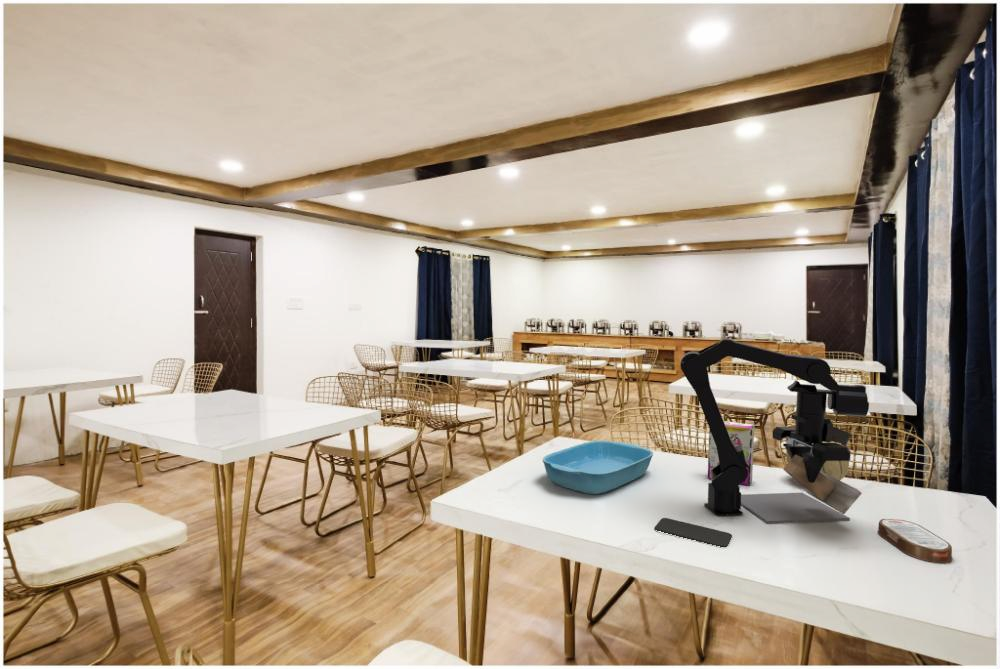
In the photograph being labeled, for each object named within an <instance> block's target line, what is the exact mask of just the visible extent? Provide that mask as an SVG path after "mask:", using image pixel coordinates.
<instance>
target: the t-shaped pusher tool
mask: <svg viewBox="0 0 1000 669" xmlns="http://www.w3.org/2000/svg"><path fill="white" fill-rule="evenodd" d="M783 471H784V472H785V473H787V474H788V475H789V476H790V477H792V478H793V479H794V480H795V481H796V482H798V484H800V485H801V486H802V487H803V488H804V489H803V491H804V492H805V493H807V495H808V496H810V497H812V498H814V499H815V500H817V501H819V502H821V503H823V504H825V505H827V506H828V507H830V508H832V509H834V510H836V511H838V512H840V513H841V514H843V515H845V514H846V513H847V512H848V511H849V509H850V508H851V507H852V506H853V504H854V503H856V501H857V500H858V499H859V497H861V495H862V492H861V491H859V489H858V488H856V487H853V486H852V485H850V484H847V483H846V482H843V481H842V480H840V481H839V480H837V479H835V478H833V477H831V476H829V475H827V474H825V473H823V472H821V471H820V472H819V474H818V476H817V478H816V480H815V482H814V483H810V482H809V481H808V477H807V473H806V469H805V464H804V460H803V458H802V457H800V456H798V455H796V454H795V456H794V457H793V458H792V459H791V460H790V462H789V463H788V464H786V465H785V466H784V467H783Z"/></svg>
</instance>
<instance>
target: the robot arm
mask: <svg viewBox="0 0 1000 669" xmlns="http://www.w3.org/2000/svg"><path fill="white" fill-rule="evenodd" d="M726 357H731V358H735V359H739V360H743V361H747V362H750V363H754V364H758V365H762V366H765V367H769V368H773V369H777V370H780V371H783V372H784V373H787V374H789V375H791V376H793V377H796V378H798V379H800V380H802V381H804V382H807V383H809V384H805V383H803V384H802V383H800V381H799V380H794V381H793V383H792V384H789V385H787V387H786V388H787V390H788V391H790V392H793V393H796V403H795V404H796V406H795V413H791V416H790V418H791V420H795V422H794V423H795V424H794V425H795V426H776V427H774V429H773V430H772V439H775V440H776V441H782V440H783V439H786V440H785V441H786V442H785V443H782V445H783V447H784V448H785V451H787V452H788V454H789V456H790V458H791V459H792V458H793V457H794V456H795V454H796V455H798V456H800V457H802V458H803V460H804V464H805V469H806V473H807V477H808V481H809V482H810V483H814V482H815V480H816V478H817V476H818V474H819V472H820V470H821V468H822V466H823V465H824V463H825V462H826V461H849V462H850V461H851V456H852V454H851V453H852V451H851V450H850V449H849V448H848V447H847V445H848V442H849V440H850V437H851V435H852V433H851V432H849V431H848V432H847V431H846V430H843V429H840V428H837V427H835V426H834V423H833V422H832V421H831V419H830V418H828V417H826V415H827V414H826V413H827V412H826V410H827V408H828V410H832V412H833V414H834V415H838V416H839V415H840V416H841V415H842V416H853V417H854V416H855V417H866V416H867V415H868V413H869V411H870V410H869V409H870V402H869V400H868V398H869V397H868V393H867V392H866V391H867V387H866V386H865V385H863V384H851V385H850V384H838V381H836V380H835V378H834V377H833V376H832V375H831V373H832V372H831V366H830V365H829V363H828V362H827V361H826V360H824V359H822V358H819V357H817V356H815V355H814V356H813V355H808V354H807V355H806V354H805V355H804V354H794V353H793V354H791V353H790V354H789V353H782V352H779V351H776V350H770V349H766V348H763V347H759V346H754V345H751V344H746V343H743V342H739V341H735V340H733V339H731V338H726V337H725V338H724V337H723V338H722V339H720V340H718V341H717V342H715V343H713V344H710V345H709V346H706V347H704V348H703V349H701V350H699V351H692V350H691V351H689V352H686V353H684V354H683V355H682V357H681V360H680V369H681V371H682V373H683V375H684V376H685V378H686V380H687V382H688V383H689V385H690V387H691V388H692V389H693V391H694V392H695V394H696V397H697V400H698V402H699V406H700V407H701V410H702V413H703V415H704V417H705V420H706V423H707V425H708V428H710V431H711V434H712V436H713V439H714V441H715V444H716V447H717V453H718V458H719V463H720V464H718V465H717V466H716V467H714V468H713V469H712V470H711V471H710V472H711V479H710V480H711V482H708V484H707V485H708V486H707V487H708V488H707V502H706V503H704V507H706V509H708V510H709V511H710V512H712V513H714V514H715V516H719V517H720V516H721V517H722V516H723V517H724V516H742V515H743V514H744V512H743V511H741V509H742V506H741V495H742V492H741V491H740V490H741V489H740V488H741V487H740V486H739V485H741V484H740V483H743V482H744V481H745V480H746V478H747V477H748V470H747V468H750V466H749V464H748V461H747V459H746V458H745V456H744V452H743V449H742V446H741V444H740V445H738V446H735V445H734V443H733V442H732V440H731V439H730V436H729V434H728V431H727V428H726V426H725V423H724V421H725V420H724V418H723V416H722V414H721V411H720V408H719V405H718V403H717V400H716V398H715V395H714V393H713V390H712V388H711V383H710V377H709V373H708V368H709V367H711V366H713V365H715V364H716V363H718V362H720V361H721V360H723V359H725V358H726ZM816 385H820V386H822V387H824V388H826V389H820V388H819V389H818V388H817V386H816ZM831 441H833V442H836V443H823V442H831ZM812 443H813V444H812ZM837 443H841V444H842V445H843V446H842V445H840V444H837Z"/></svg>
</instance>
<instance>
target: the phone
mask: <svg viewBox="0 0 1000 669" xmlns="http://www.w3.org/2000/svg"><path fill="white" fill-rule="evenodd" d="M655 530H657V531H661V532H664V533H668V534H672V535H676V536H679V537H678V538H680V537H683V538H682V539H684V538H687V539H686V540H688V539H691V540H690V541H692V540H696V541H699V542H698V543H700V542H704V543H707V544H706V545H708V544H712V545H711V546H713V545H716V546H715V547H717V546H720V547H719V548H721V547H727V546H729V545H730V543H731V541H732V539H733V535H732V534H731V533H729V532H727V531H724V530H723V531H722V530H719V529H715V528H710V527H705V526H702V525H699V524H698V525H697V524H693V523H689V522H685V521H681V520H676V519H673V518H672V519H671V518H667V517H663V518H661V519H660V520H658V522H657V523H656V525H655V526H654V531H655ZM657 531H656V532H657ZM664 533H663V534H664ZM668 534H667V535H668ZM672 535H671V536H672ZM676 536H675V537H676ZM731 538H732V539H731ZM730 540H731V541H730ZM696 541H695V542H696ZM729 542H730V543H729ZM704 543H703V544H704ZM728 544H729V545H728ZM727 548H728V547H727Z"/></svg>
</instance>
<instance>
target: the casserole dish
mask: <svg viewBox="0 0 1000 669" xmlns="http://www.w3.org/2000/svg"><path fill="white" fill-rule="evenodd" d="M653 456H654V452H653V451H652V449H648V448H645V447H643V446H641V445H638V444H634V443H629V442H624V441H623V442H622V441H613V440H612V441H611V440H592V441H586V442H583V443H580V444H577V445H574V446H569V447H567V448H564V449H561V450H557V451H554V452H552V453H549V454H547V455H544V456H543V457H542V462H543V464H544V469H545V472H546V474H547V477H548V479H549V480H550V481H551V482H553V484H555V485H557V486H560V487H562V488H567V489H569V490H570V489H571V490H573V491H577V492H580V493H584V494H587V495H588V494H589V495H600V494H604V493H607V492H610V491H612V490H614V489H616V488H619V487H621V486H623V485H625V484H628V483H630V482H632V481H634V480H636V479H638V478H640V477H642V476H643V475H644V474H645V473H646V472H647V470H648V469H649V466H650V463H651V461H652V458H653Z"/></svg>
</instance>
